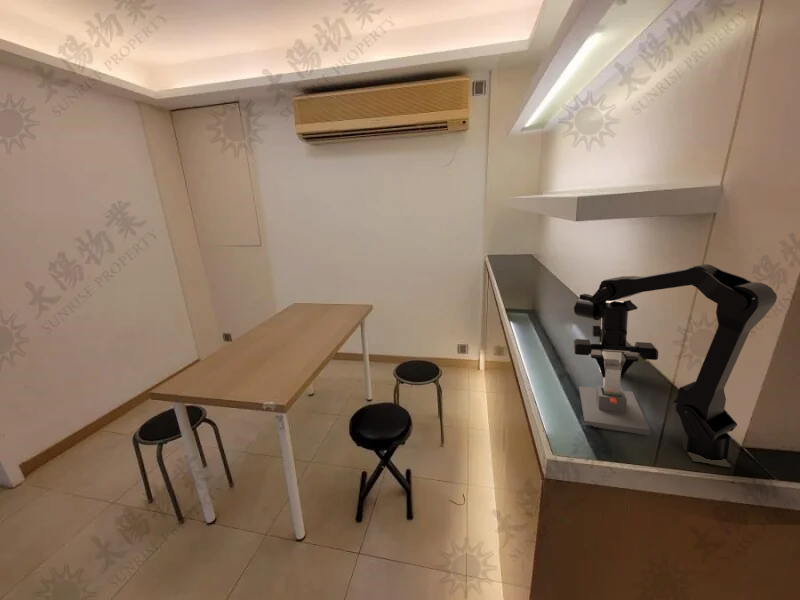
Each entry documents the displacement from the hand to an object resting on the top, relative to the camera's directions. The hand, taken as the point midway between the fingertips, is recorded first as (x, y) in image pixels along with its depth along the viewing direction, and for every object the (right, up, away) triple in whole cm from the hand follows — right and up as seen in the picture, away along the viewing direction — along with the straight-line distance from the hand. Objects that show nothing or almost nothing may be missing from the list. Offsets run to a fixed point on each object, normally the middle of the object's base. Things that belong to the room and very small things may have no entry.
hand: (611, 377), depth 90 cm
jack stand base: (+1, -10, +2) cm, 10 cm away
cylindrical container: (+16, -4, +24) cm, 29 cm away
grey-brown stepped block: (0, -5, +1) cm, 5 cm away
